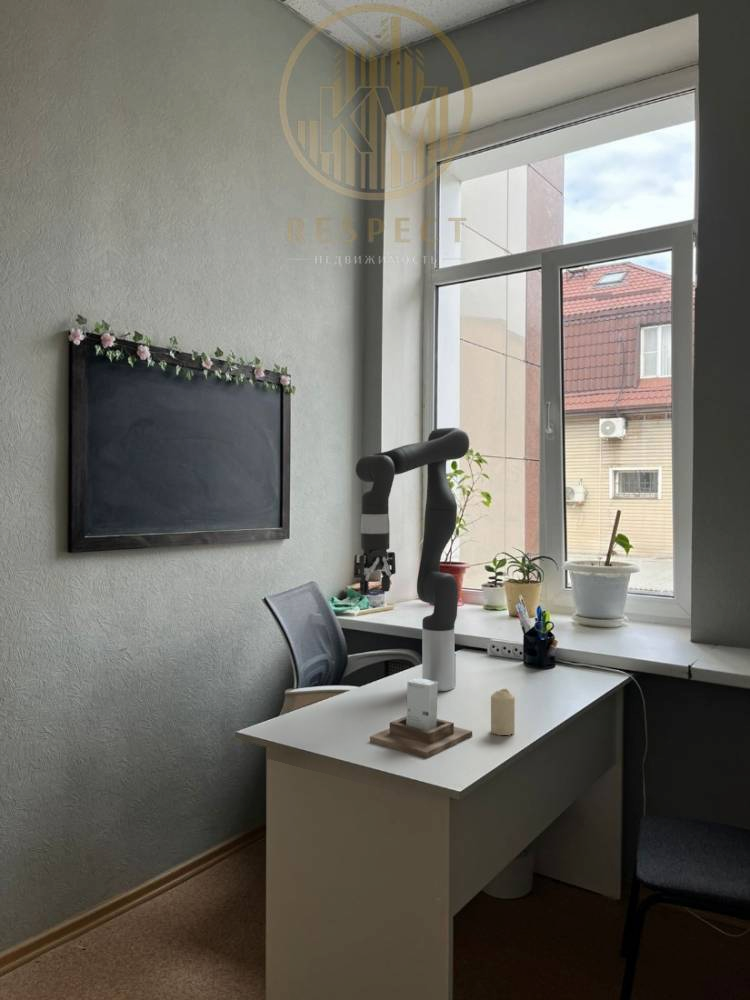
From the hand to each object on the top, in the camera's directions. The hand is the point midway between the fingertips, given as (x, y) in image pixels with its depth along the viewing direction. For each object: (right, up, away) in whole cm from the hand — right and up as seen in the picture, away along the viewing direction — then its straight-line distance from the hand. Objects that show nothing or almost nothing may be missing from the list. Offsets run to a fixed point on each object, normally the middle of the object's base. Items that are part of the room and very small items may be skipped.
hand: (375, 592), depth 193 cm
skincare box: (+11, -30, -24) cm, 39 cm away
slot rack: (+11, -31, -24) cm, 40 cm away
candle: (+30, -31, -19) cm, 47 cm away
